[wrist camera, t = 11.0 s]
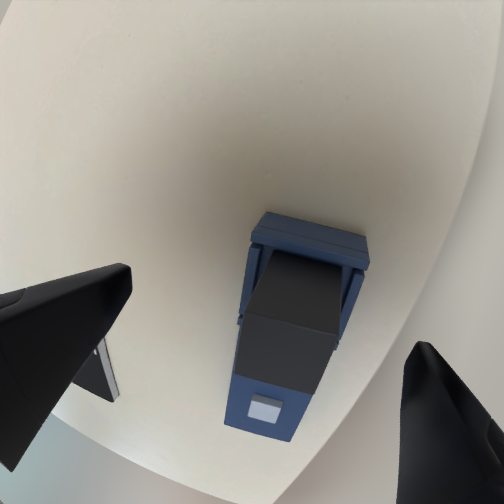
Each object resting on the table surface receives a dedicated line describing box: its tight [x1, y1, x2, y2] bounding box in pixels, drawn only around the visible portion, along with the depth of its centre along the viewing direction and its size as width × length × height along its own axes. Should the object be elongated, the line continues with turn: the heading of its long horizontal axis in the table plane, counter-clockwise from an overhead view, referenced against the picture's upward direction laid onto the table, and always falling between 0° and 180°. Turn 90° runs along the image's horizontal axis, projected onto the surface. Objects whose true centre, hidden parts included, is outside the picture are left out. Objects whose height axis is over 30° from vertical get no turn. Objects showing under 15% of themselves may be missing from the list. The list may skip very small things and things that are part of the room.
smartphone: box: [72, 338, 119, 402], centre depth 32 cm, size 8×1×15 cm
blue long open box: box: [224, 212, 370, 442], centre depth 23 cm, size 6×20×4 cm, turn 171°
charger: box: [234, 250, 342, 395], centre depth 16 cm, size 4×4×6 cm
